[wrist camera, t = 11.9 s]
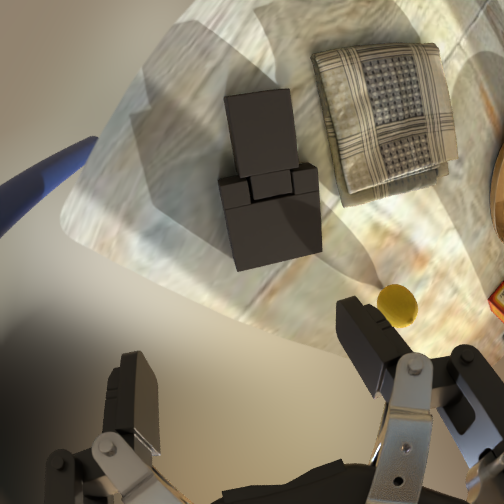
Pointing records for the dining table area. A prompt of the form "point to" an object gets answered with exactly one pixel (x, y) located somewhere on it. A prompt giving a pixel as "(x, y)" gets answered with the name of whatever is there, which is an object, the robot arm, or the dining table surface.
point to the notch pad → (273, 220)
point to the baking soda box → (498, 302)
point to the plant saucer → (498, 195)
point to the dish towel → (385, 118)
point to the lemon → (397, 305)
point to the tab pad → (263, 140)
